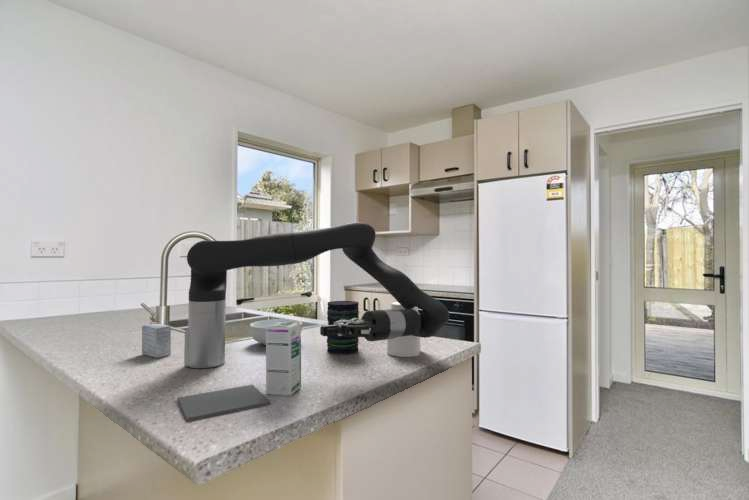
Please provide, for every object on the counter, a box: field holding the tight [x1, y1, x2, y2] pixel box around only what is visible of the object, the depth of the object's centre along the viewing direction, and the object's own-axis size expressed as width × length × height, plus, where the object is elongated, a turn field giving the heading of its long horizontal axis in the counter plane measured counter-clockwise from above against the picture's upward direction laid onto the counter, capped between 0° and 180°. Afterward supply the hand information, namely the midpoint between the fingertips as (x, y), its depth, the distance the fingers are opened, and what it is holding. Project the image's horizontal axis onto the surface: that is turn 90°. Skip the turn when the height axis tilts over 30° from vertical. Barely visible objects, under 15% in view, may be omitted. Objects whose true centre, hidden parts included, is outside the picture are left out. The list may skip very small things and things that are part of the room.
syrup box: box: [265, 322, 302, 397], centre depth 85 cm, size 6×6×14 cm
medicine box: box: [141, 323, 172, 359], centre depth 115 cm, size 8×4×9 cm, turn 58°
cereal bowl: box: [249, 318, 303, 346], centre depth 130 cm, size 17×17×7 cm
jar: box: [386, 301, 422, 358], centre depth 121 cm, size 12×10×15 cm
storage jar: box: [326, 300, 360, 356], centre depth 122 cm, size 10×10×15 cm
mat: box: [177, 384, 271, 422], centre depth 78 cm, size 15×12×1 cm
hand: (321, 331), depth 90 cm, fingers closed
